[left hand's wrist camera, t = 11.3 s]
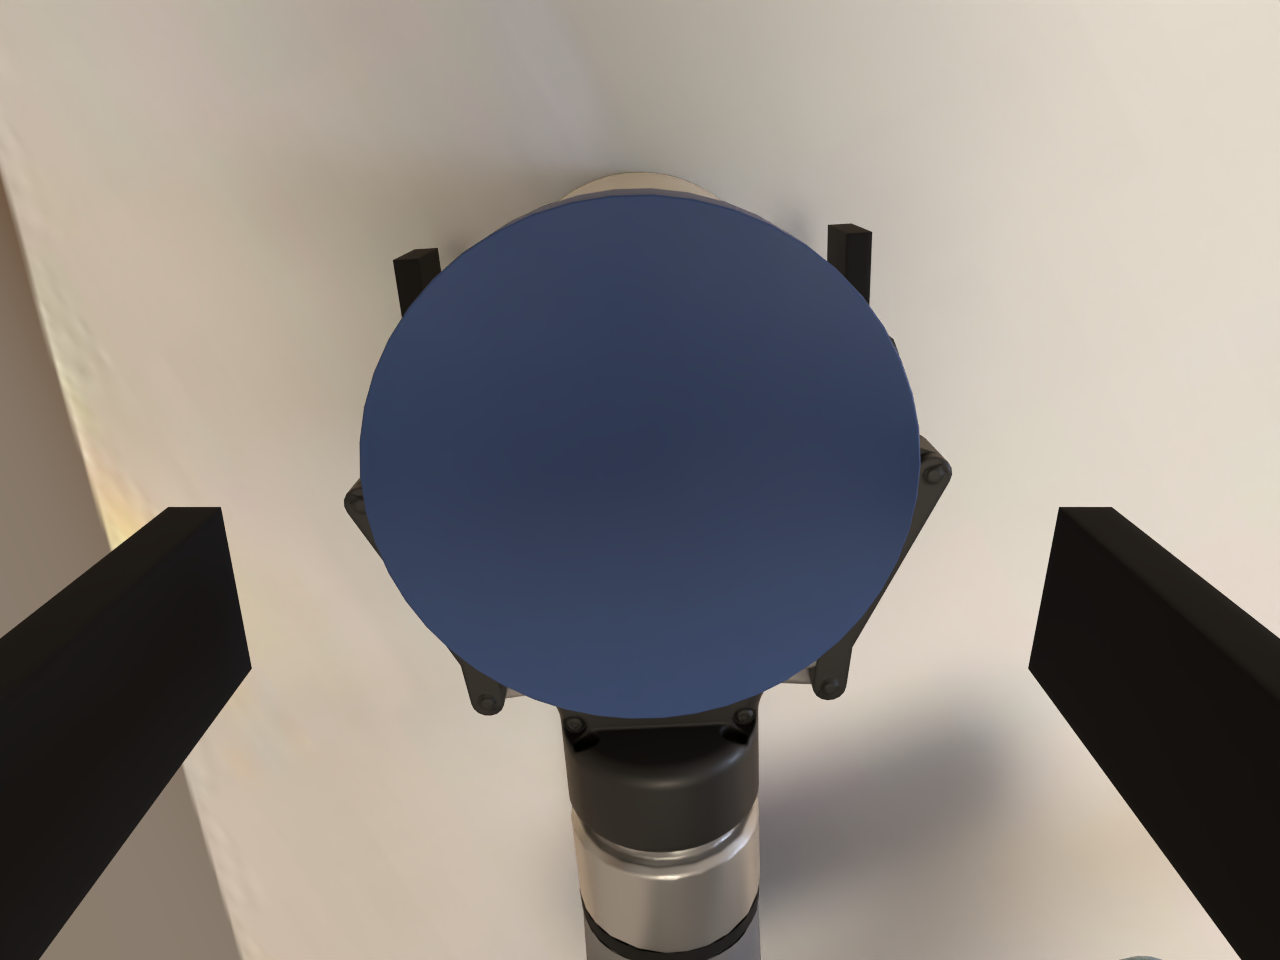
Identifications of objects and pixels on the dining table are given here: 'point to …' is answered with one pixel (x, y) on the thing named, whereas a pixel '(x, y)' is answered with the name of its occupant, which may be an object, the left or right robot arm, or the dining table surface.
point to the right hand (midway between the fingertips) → (631, 239)
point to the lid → (639, 454)
